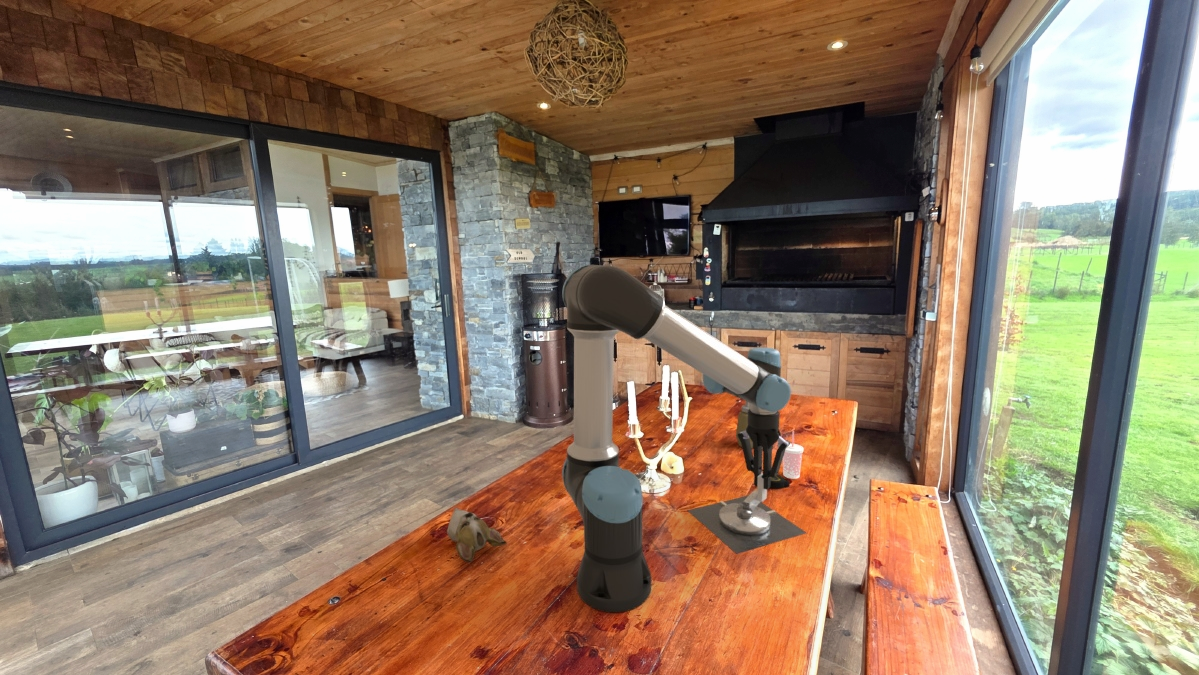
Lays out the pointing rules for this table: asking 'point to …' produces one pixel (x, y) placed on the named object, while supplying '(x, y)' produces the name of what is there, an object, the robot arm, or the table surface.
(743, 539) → the plate
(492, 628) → the table surface
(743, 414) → the squeeze bottle
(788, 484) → the tape measure
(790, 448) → the beverage cup
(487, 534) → the ceramic sculpture
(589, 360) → the robot arm
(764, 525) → the dial
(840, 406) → the table surface
